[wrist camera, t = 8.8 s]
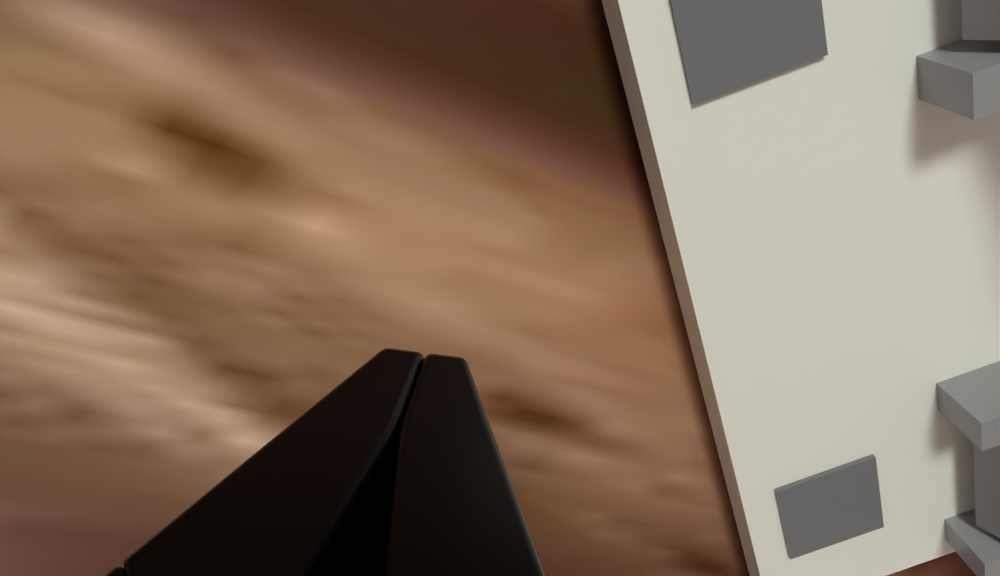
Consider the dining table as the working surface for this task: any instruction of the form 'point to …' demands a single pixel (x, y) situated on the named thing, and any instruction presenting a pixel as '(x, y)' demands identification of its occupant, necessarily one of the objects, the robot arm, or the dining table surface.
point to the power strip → (831, 263)
